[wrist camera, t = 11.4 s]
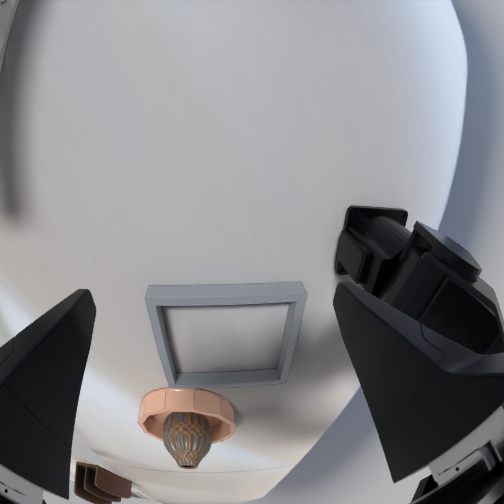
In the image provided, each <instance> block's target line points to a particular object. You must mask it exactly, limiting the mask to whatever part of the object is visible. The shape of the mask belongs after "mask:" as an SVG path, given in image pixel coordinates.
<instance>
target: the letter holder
mask: <svg viewBox="0 0 504 504" xmlns="http://www.w3.org/2000/svg"><path fill="white" fill-rule="evenodd" d="M131 486H132V482H131V481H129V480H127V479H125V478H122V477H120V476H118V475H116V474H114V473H112V472H110V471H107V470H105V469H104V468H101V467H100V466H98V465H92V464H86V463H81V462H77V463H76V472H75V486H74V493H75V494H76V495H77V496H79V497H81V498H83V499H84V500H86V501H89V502H91V503H94V504H112V501H113V502H120V501H121V497H122V498H130V497H131Z"/></svg>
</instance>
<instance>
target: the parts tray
mask: <svg viewBox="0 0 504 504" xmlns="http://www.w3.org/2000/svg"><path fill="white" fill-rule="evenodd" d="M306 297H307V292H306V290H305V288H304V286H303V284H302V282H281V283H255V284H221V285H149V286H148V289H147V293H146V296H145V301H146V305H147V310H148V314H149V318H150V322H151V326H152V330H153V334H154V338H155V341H156V345H157V349H158V352H159V356H160V359H161V362H162V366H163V369H164V372H165V375H166V379H167V382H168V385H169V388H183V389H202V388H233V387H249V386H261V385H272V384H281V383H286V381H287V377H288V373H289V369H290V365H291V361H292V357H293V353H294V349H295V345H296V341H297V337H298V333H299V328H300V324H301V320H302V315H303V311H304V306H305V301H306ZM280 302H290V303H289V309H288V314H287V320H286V325H285V331H284V336H283V341H282V347H281V352H280V357H279V362H278V367H277V368H275V369H264V370H252V371H235V372H208V373H176V370H175V367H174V363H173V359H172V354H171V350H170V346H169V342H168V337H167V333H166V328H165V323H164V319H163V314H162V309H161V306H199V305H237V304H261V303H280Z"/></svg>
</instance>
